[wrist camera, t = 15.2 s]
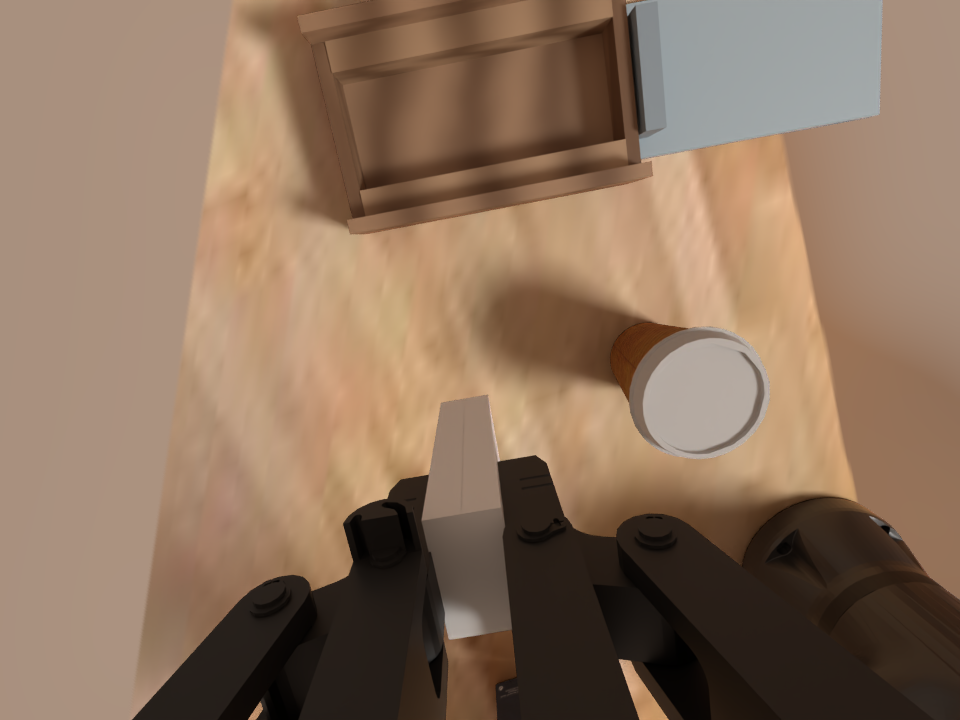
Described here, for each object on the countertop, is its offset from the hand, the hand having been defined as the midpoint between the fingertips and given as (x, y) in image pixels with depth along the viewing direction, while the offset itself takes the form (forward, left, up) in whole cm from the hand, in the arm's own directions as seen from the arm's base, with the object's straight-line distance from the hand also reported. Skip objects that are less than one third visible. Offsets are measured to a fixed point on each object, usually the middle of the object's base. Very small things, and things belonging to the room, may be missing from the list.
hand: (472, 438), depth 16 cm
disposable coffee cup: (-15, +7, -29) cm, 33 cm away
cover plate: (-25, -15, -29) cm, 41 cm away
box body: (-4, -15, -28) cm, 32 cm away
